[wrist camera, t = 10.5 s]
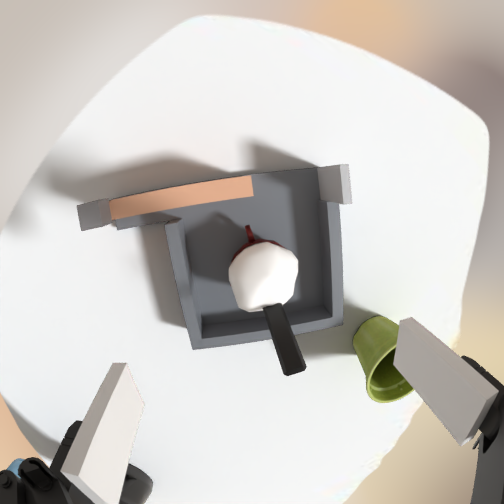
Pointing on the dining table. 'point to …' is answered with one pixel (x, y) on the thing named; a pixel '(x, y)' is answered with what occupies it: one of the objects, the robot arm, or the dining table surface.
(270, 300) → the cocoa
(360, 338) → the plant pot
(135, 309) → the dining table surface
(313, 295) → the box
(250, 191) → the cover
